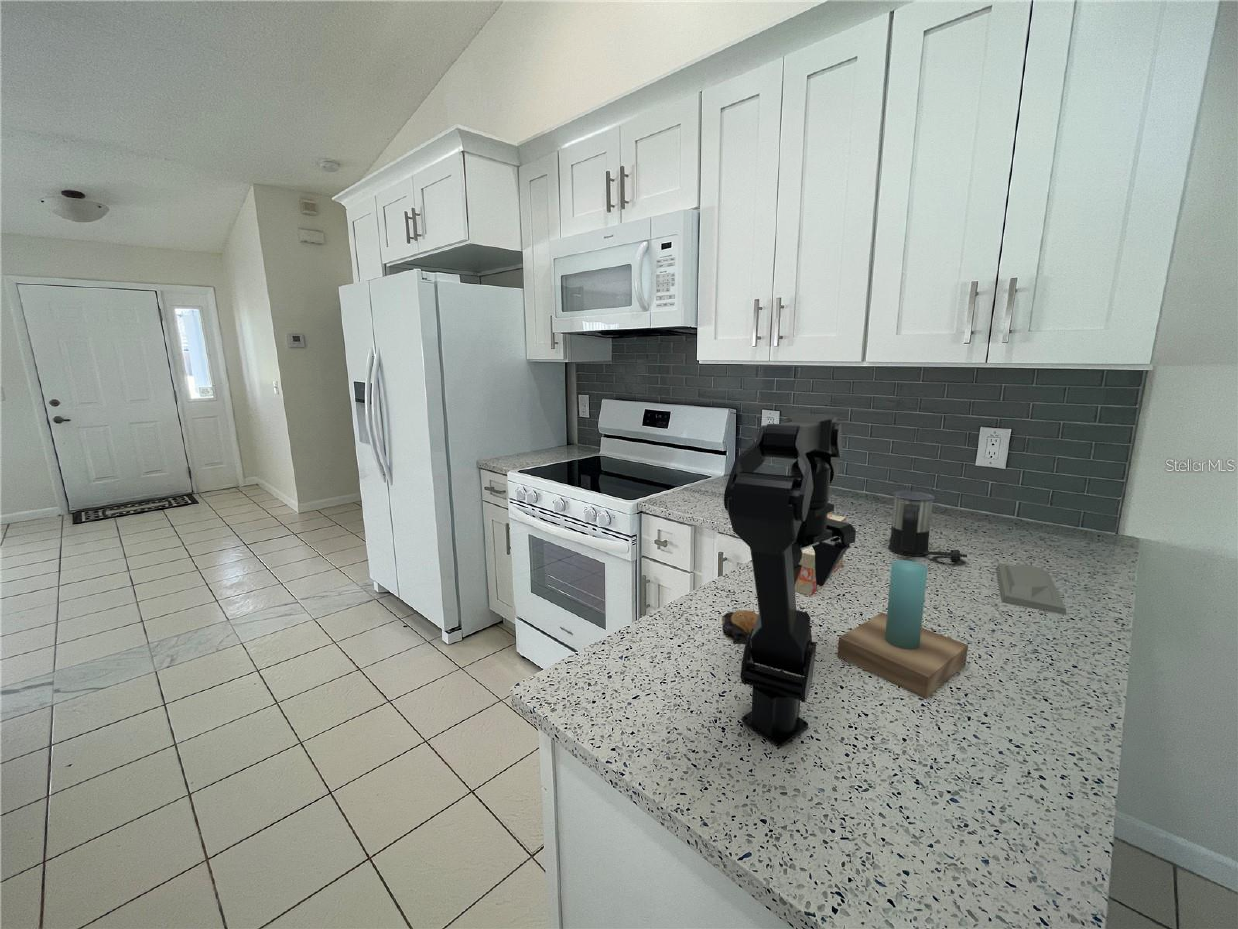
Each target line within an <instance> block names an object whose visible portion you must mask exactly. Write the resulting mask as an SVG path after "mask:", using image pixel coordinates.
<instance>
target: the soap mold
mask: <svg viewBox="0 0 1238 929" xmlns="http://www.w3.org/2000/svg"><path fill="white" fill-rule="evenodd" d="M995 573H996V577H997V584H998V589H999V590H998V591H999V595H1000V601H1001V603H1002V604H1008V605H1014V606H1020V607H1025V608H1029V609H1033V610H1039V611H1046V612H1050V613H1056V614H1061V615H1064V616H1065V615H1067V611H1066V610H1067V608H1066V606H1065V604H1064V602H1063V600H1062V598H1061V596H1060V593H1059V591H1058V589H1057V586H1056V585H1055V583H1054V581H1053V579H1052V576H1051V574H1050V572H1049V571H1047V570H1043V568H1042V567H1037V566H1033V565H1030V564H1025V563H1024V564H1015V565H1014V564H1013V565H1012V564H1004V563H999V562H998V564H997V565H996V567H995Z"/></svg>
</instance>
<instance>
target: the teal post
mask: <svg viewBox="0 0 1238 929" xmlns="http://www.w3.org/2000/svg"><path fill="white" fill-rule="evenodd" d="M890 568H891V569H890V576H889V577H890V579H889V590H888V601H887V610H886V612H887V613H886V614H887V620H886V631H885V640H886V641H887V642H888V643H889V644H891V645H893V646H895V647H898V648H902V649H916V648H918V647H919V646H920V637H921V627H922V626H923V624H922V623H923V617H924V616H923V615H924V607H925V599H926V598H925V597H926V587H927V581H928V580H927V578H928V570H929V568H928V566H926V565H924V564H923V563H920V562H917V561H912V560H902V559H901V560H894V561H892V562H891V567H890ZM922 628H923V627H922Z"/></svg>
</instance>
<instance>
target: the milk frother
mask: <svg viewBox="0 0 1238 929" xmlns="http://www.w3.org/2000/svg"><path fill="white" fill-rule="evenodd" d="M892 494H893V496H894V498H893V508H892V517H891V528H890V537H889V544H888V546H887V547H888V549H889V550H890V551H892V553H893V552H894V553H896V554H900V555H903V556H909V557H925V556H928V555H929V556H930V555H931V556H946V557H950V560H951V561H960V560H961V558H968V554H966V553H961V552H960V550H959V549H951V550H950V552H948V551H941V550H940V551H929V538H930V532H931V530H930V529H931V522H932V521H931V520H932V511H933V502H934V500H935V496H934V495H932V494H929V493H926V492H925V493H924V492H920V491H911V490H910V491H909V490H902V491H901V490H898V491H894V492H893V493H892Z"/></svg>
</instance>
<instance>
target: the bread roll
mask: <svg viewBox="0 0 1238 929" xmlns="http://www.w3.org/2000/svg"><path fill="white" fill-rule="evenodd" d="M758 615H759V614H758V613H756V612H754V611H752V610H746V609H745V610H742V609H739V610H735V611H729V612H726V613H725V614H723V615H721V621H722V630H723V631H724V632H723V633H724V635H725V636H726V638H727V640H728V641H729V640H730V641H732V644H733V645H745V642H746V638H747V636H749V635H750V632H751V630H752V628H753V627H755V624H756V621H757V618H758Z"/></svg>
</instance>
